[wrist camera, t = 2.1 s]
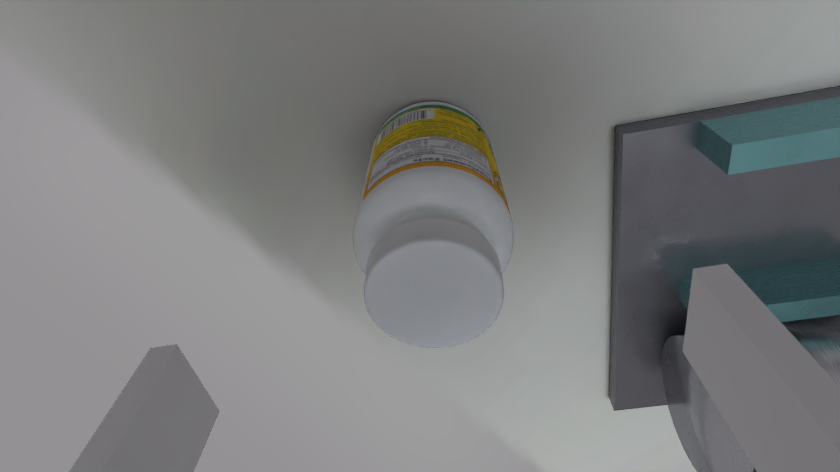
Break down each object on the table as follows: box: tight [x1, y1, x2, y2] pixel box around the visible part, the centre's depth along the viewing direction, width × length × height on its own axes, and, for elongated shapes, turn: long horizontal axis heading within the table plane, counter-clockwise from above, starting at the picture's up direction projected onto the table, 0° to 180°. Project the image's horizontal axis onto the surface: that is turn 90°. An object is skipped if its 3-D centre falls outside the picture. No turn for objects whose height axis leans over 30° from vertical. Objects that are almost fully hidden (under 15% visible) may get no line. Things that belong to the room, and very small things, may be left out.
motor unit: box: [609, 86, 840, 472], centre depth 21 cm, size 18×14×10 cm
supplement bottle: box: [353, 102, 513, 348], centre depth 18 cm, size 5×5×10 cm
